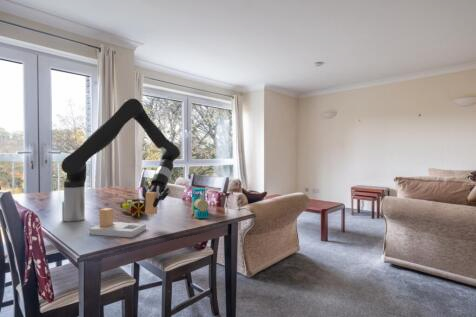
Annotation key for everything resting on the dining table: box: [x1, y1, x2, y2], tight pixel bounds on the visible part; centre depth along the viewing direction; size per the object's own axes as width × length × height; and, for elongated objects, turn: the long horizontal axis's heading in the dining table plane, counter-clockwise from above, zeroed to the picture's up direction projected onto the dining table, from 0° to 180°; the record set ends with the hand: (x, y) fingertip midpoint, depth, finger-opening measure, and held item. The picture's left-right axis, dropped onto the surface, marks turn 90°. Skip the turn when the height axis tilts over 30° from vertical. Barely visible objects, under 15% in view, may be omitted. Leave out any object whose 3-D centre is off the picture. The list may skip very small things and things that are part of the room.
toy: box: [119, 197, 146, 218], centre depth 160 cm, size 16×9×30 cm
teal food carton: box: [190, 187, 210, 219], centre depth 155 cm, size 8×17×15 cm, turn 21°
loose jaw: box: [144, 192, 158, 216], centre depth 129 cm, size 4×4×10 cm
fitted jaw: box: [99, 207, 114, 227], centre depth 124 cm, size 4×4×10 cm
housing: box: [89, 221, 147, 238], centre depth 123 cm, size 20×12×2 cm, turn 81°
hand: (149, 205), depth 127 cm, fingers closed on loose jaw, 4 cm apart
